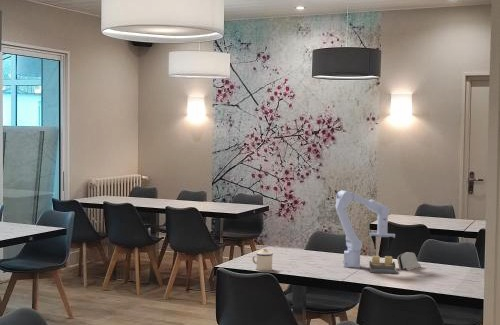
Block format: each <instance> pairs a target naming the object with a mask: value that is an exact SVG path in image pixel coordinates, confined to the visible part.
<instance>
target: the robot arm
mask: <svg viewBox="0 0 500 325" xmlns="http://www.w3.org/2000/svg"><path fill="white" fill-rule="evenodd" d="M335 199H336V200H335V207H334V208H335V210H336V214H337V217H338V219H339V221H340V224H341V227H342V229H343V232H344V234H345V246H346V247H347V250H344V252H343V262H342V263H343V267H344V268H360V269H361V266H362V265H361V250H362V248H363V243H362V241H361V240H360V239H359V237H358V236H357V234H356V233H355V230H354V227H353V226H352V222H351V220H350V218H349V217H350V216H349V214H348V212H347V207H348V206H349V204H350V203H351V202H355V201H356V202H357V203H361V204H362V205H365V207H366V209H367V210H369V211H372V212H374V213H376V214H377V227H376V228H377V229H376V232H369V235H368V236H369V237H370V238H371V239H372V240H371V241H372V243H373V247H374V248H373V249H374V250H376V249H377V247H376V245H377V244H376V241H377V239H376V238H377V237H378V238H388V239H387V240H388V241H387V243H388V244H387V250H388V251H390V249H391V244H392V242H393V240H394V239H395V238H396V234H395V233H389V232H388V224H389V223H388V220H389V215H390V212H391V211H390V207H388V206H387V205H383V203H382V202H378V201H377V200H376V199H371V198H370V199H368V198H367V199H366V198H365V197H363V196H362V195H359V194H357V193H355V192H351V191H349V190H348V191H347V190H344V189H341V190H339V191H338V192H337V193H336V196H335Z"/></svg>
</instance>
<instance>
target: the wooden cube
mask: <svg viewBox="0 0 500 325" xmlns="http://www.w3.org/2000/svg"><path fill="white" fill-rule="evenodd" d="M371 258H372V260H371V262H372V264H380V263H381V261H380V255H372V257H371Z"/></svg>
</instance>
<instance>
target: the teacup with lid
mask: <svg viewBox="0 0 500 325" xmlns="http://www.w3.org/2000/svg"><path fill="white" fill-rule="evenodd" d="M255 257H256V260H255ZM251 260H252V262H253V264H255V265H256V270H257V271H265V272H268V271H271V270H273V252H272V251H269V250H267V248H266V247H263V248H262V249H261V250H260V251H257V252H256V255H255V254H254V255H252V259H251Z"/></svg>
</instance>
